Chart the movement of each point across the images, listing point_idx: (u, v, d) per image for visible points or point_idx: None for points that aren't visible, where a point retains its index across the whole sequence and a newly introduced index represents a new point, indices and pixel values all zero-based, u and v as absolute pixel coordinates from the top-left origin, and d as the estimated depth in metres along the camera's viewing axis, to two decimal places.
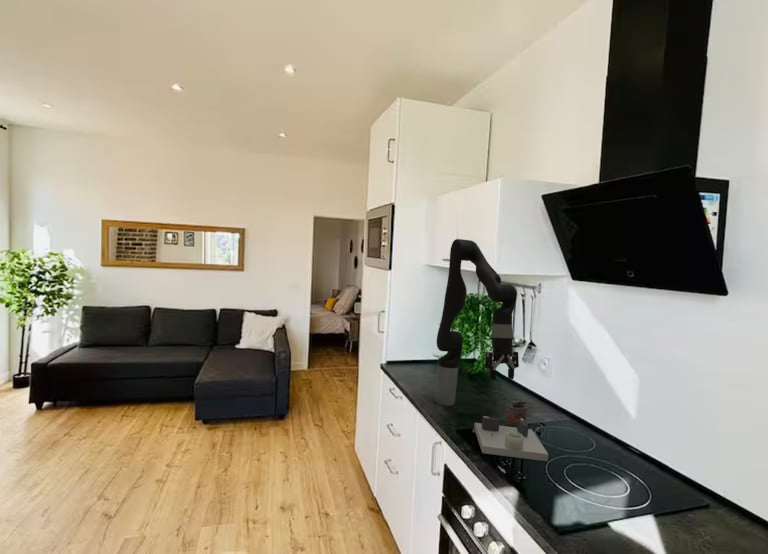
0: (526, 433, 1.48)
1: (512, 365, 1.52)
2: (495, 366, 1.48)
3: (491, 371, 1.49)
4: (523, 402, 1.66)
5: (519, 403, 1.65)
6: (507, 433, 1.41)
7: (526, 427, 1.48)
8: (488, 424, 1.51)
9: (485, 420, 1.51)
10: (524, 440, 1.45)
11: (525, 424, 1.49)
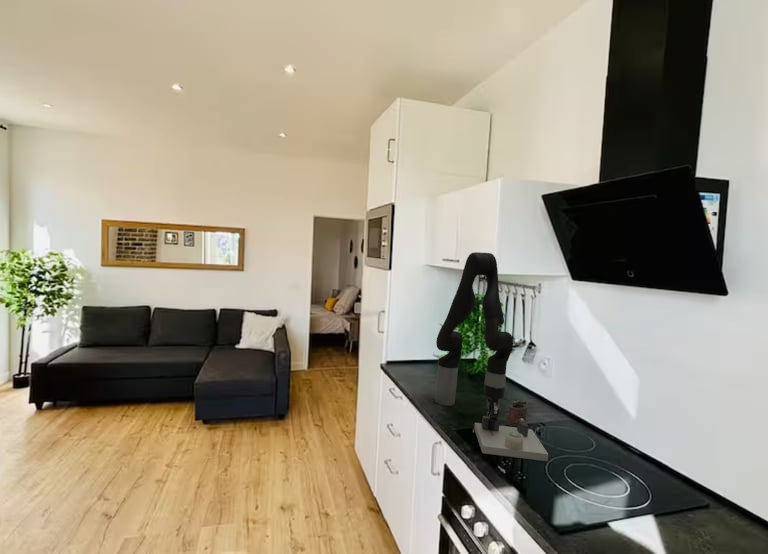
0: (526, 433, 1.48)
1: None
2: None
3: (492, 422, 1.50)
4: (523, 402, 1.66)
5: (519, 403, 1.65)
6: (507, 433, 1.41)
7: (526, 427, 1.48)
8: None
9: (485, 420, 1.51)
10: (524, 440, 1.45)
11: (525, 424, 1.49)
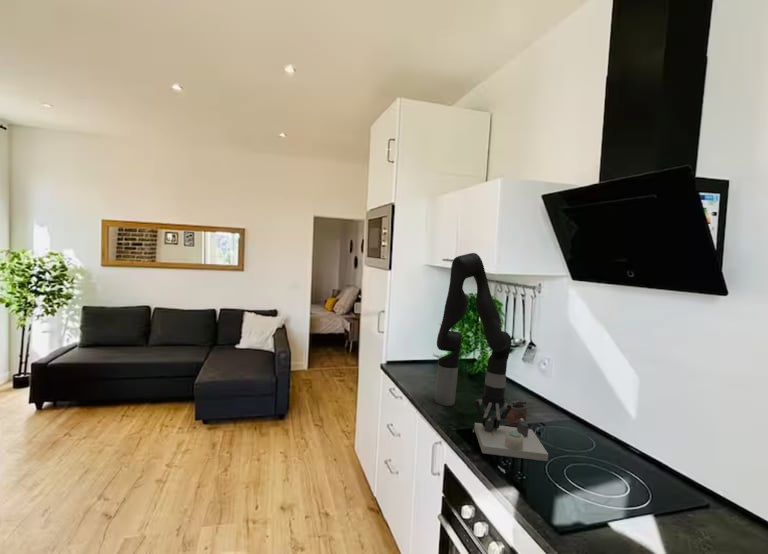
0: (526, 433, 1.48)
1: None
2: None
3: None
4: (523, 402, 1.66)
5: (519, 403, 1.65)
6: (507, 433, 1.41)
7: (526, 427, 1.48)
8: (492, 425, 1.51)
9: (492, 422, 1.50)
10: (524, 440, 1.45)
11: (525, 424, 1.49)
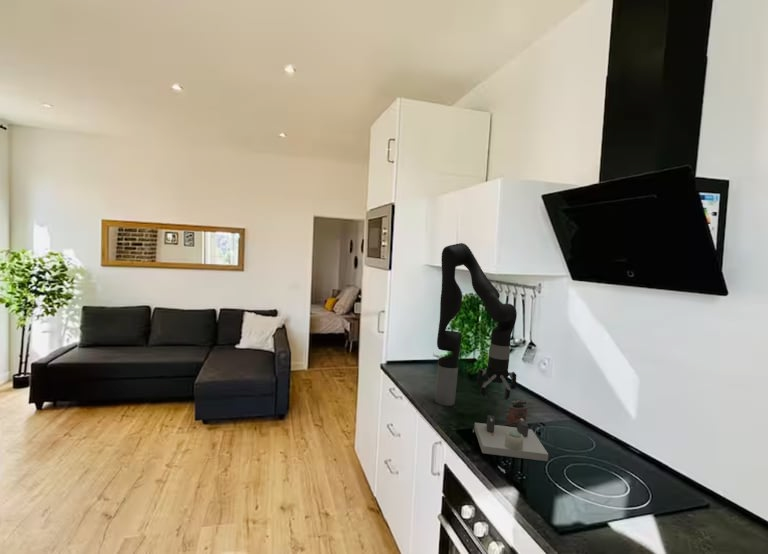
0: (526, 433, 1.48)
1: (484, 382, 1.53)
2: None
3: None
4: (523, 402, 1.66)
5: (519, 403, 1.65)
6: (507, 433, 1.41)
7: (526, 427, 1.48)
8: None
9: (494, 422, 1.50)
10: (524, 440, 1.45)
11: (525, 424, 1.49)
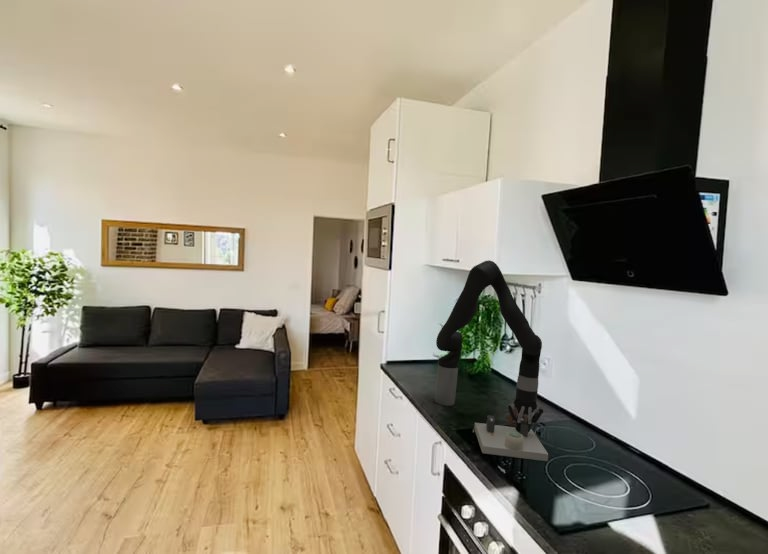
0: (526, 433, 1.48)
1: None
2: None
3: None
4: None
5: None
6: (507, 433, 1.41)
7: (526, 427, 1.48)
8: None
9: (494, 422, 1.50)
10: (524, 440, 1.45)
11: (525, 424, 1.49)
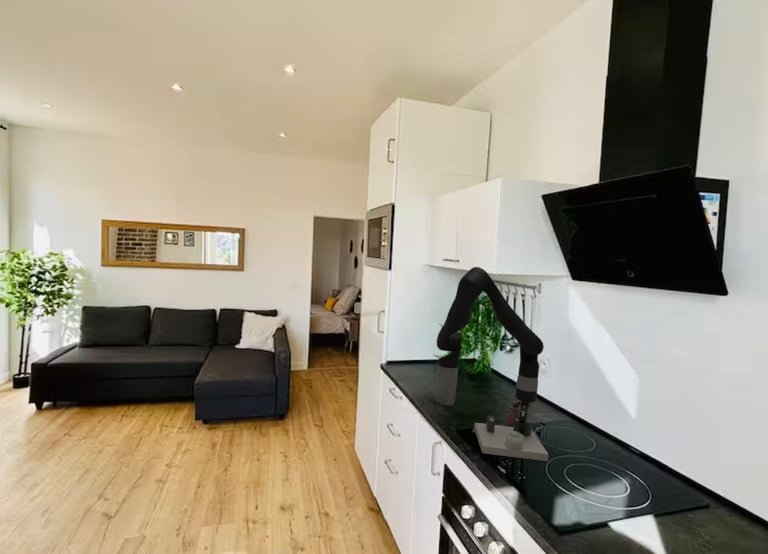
0: (530, 432, 1.50)
1: None
2: None
3: None
4: None
5: (519, 403, 1.65)
6: (507, 433, 1.41)
7: (531, 425, 1.50)
8: None
9: (494, 422, 1.50)
10: (524, 440, 1.45)
11: (528, 423, 1.50)
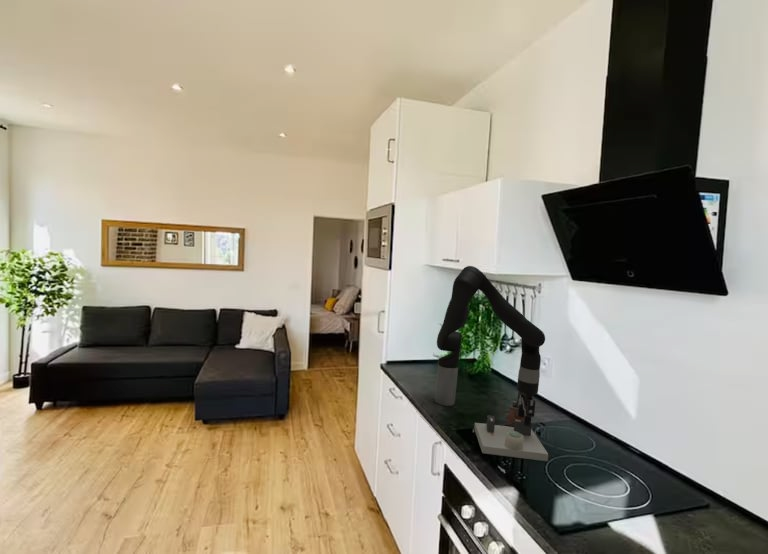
0: None
1: (525, 411, 1.47)
2: (519, 403, 1.56)
3: None
4: None
5: None
6: (507, 433, 1.41)
7: (531, 424, 1.51)
8: None
9: (494, 422, 1.50)
10: (524, 440, 1.45)
11: None
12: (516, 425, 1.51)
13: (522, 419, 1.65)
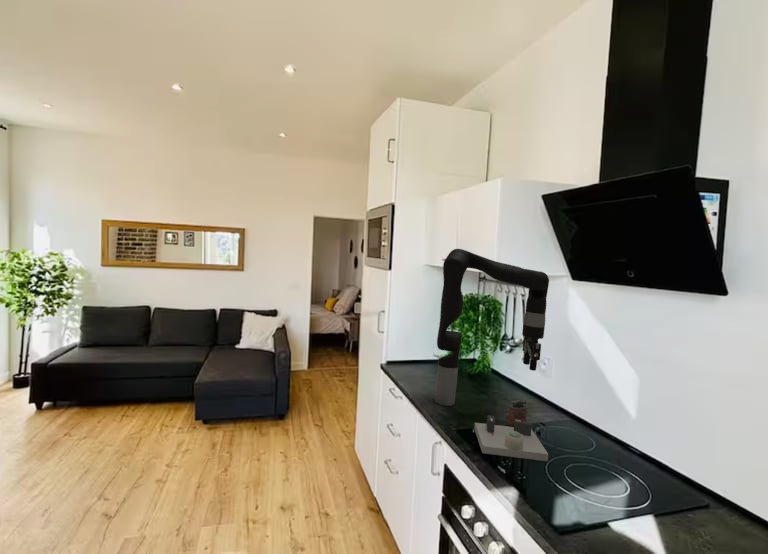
0: None
1: (530, 355, 1.46)
2: (524, 350, 1.54)
3: None
4: (523, 402, 1.66)
5: (519, 403, 1.65)
6: (507, 433, 1.41)
7: None
8: None
9: (494, 422, 1.50)
10: (524, 440, 1.45)
11: (528, 423, 1.51)
12: (516, 425, 1.51)
13: (522, 419, 1.65)
